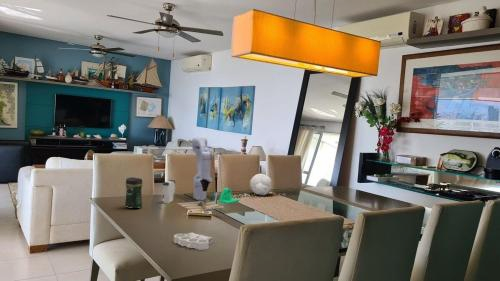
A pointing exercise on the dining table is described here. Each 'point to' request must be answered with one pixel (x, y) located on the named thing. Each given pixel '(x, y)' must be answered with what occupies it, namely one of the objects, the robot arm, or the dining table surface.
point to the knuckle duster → (193, 240)
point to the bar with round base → (202, 204)
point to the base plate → (194, 206)
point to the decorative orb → (260, 184)
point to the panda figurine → (168, 191)
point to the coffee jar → (133, 192)
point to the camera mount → (227, 197)
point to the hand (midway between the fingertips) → (204, 191)
